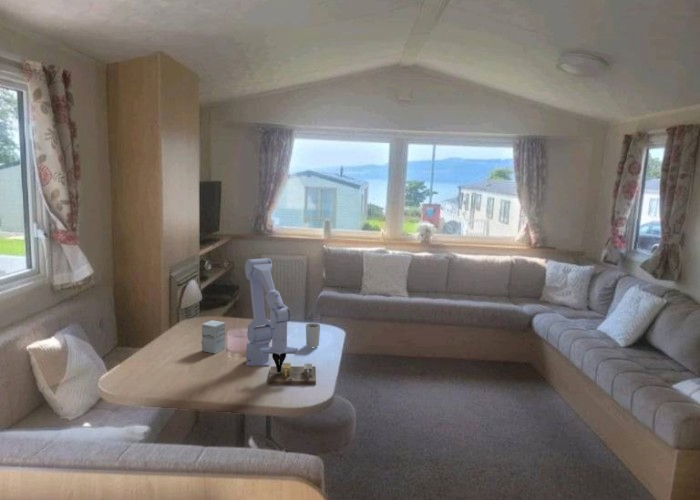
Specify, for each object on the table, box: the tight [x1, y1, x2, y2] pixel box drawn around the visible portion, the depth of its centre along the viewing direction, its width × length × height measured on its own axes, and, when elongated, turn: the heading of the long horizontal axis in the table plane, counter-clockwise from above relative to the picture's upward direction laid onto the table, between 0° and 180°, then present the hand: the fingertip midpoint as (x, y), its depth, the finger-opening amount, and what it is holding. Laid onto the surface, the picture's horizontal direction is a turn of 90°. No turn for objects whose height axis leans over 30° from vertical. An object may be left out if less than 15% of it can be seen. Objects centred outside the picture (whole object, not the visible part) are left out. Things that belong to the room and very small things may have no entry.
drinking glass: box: [305, 322, 321, 349], centre depth 224 cm, size 7×7×10 cm
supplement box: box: [201, 319, 226, 355], centre depth 214 cm, size 7×7×13 cm
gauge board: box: [267, 363, 317, 386], centre depth 189 cm, size 18×14×4 cm
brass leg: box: [282, 362, 292, 379], centre depth 187 cm, size 3×8×3 cm, turn 5°
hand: (279, 371), depth 189 cm, fingers closed
